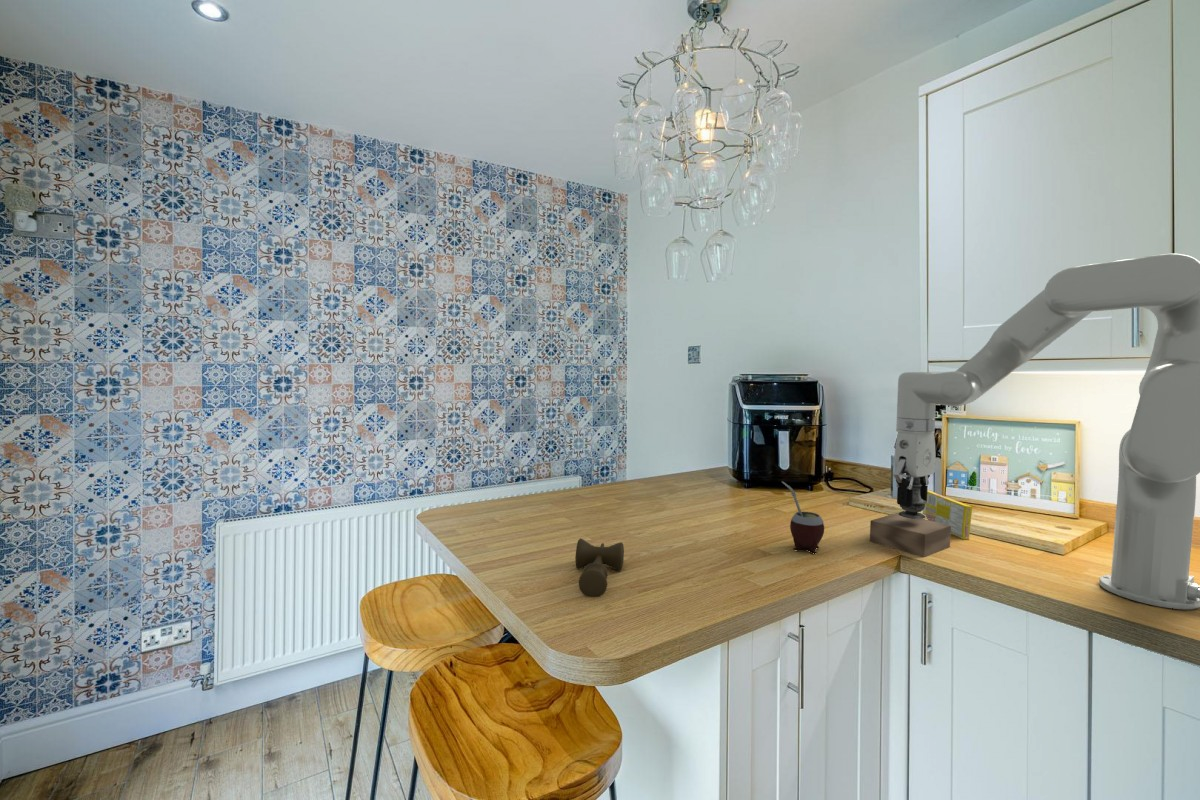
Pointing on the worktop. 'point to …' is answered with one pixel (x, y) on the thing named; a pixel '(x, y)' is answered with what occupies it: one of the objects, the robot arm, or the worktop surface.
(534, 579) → the worktop surface
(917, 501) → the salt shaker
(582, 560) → the kendama
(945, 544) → the walnut block
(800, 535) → the mate gourd
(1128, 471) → the robot arm
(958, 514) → the candy box
